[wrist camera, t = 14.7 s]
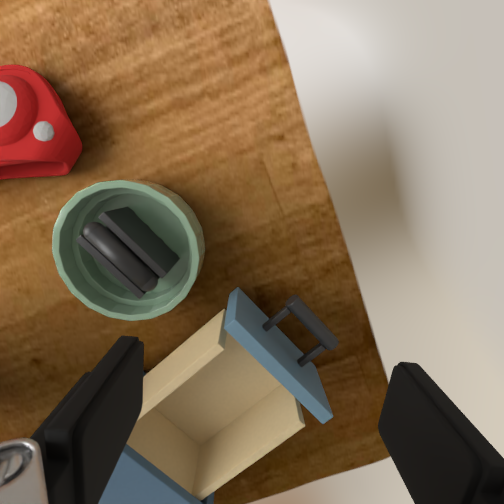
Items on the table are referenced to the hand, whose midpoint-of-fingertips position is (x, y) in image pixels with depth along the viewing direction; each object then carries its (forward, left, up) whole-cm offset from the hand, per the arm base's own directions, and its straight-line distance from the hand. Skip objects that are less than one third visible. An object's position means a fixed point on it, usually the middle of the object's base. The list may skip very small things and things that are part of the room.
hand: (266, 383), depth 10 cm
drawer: (+7, -9, -18) cm, 21 cm away
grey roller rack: (-8, -7, -18) cm, 21 cm away
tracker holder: (-23, -8, -19) cm, 31 cm away
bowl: (-8, -7, -19) cm, 22 cm away
